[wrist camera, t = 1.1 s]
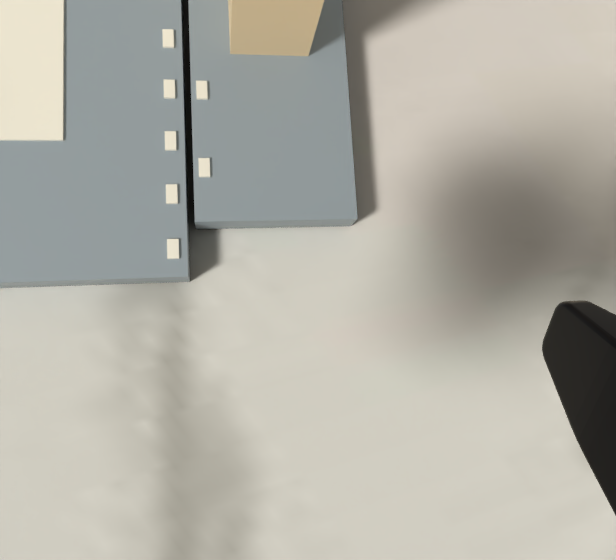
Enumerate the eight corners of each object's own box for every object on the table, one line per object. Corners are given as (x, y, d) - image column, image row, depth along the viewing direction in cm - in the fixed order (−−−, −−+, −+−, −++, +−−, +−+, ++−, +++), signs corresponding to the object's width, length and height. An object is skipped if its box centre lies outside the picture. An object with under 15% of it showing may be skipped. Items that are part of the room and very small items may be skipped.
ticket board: (190, 281, 21) (188, 276, 20) (-105, 291, 20) (-127, 286, 19) (177, -186, 24) (175, -217, 23) (-82, -210, 23) (-99, -244, 22)
